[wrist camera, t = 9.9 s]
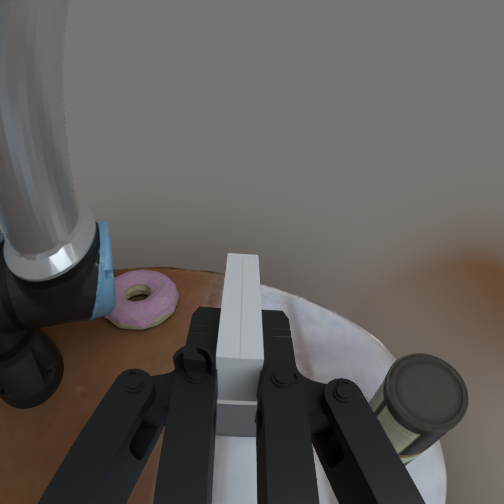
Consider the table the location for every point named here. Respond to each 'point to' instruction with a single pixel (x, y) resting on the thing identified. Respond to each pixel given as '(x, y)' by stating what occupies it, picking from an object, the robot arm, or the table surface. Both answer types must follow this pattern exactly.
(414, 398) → the coffee can
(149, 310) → the donut
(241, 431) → the mat
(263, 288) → the table surface
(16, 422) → the table surface
